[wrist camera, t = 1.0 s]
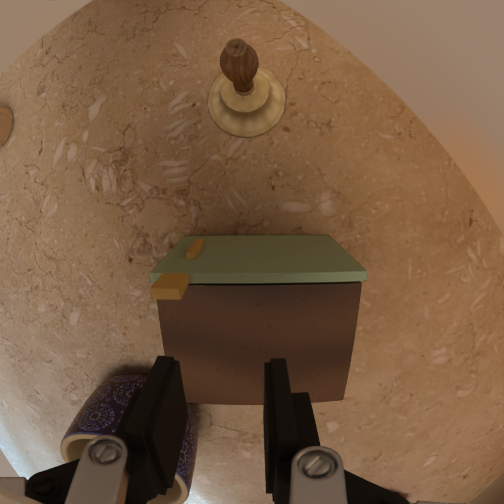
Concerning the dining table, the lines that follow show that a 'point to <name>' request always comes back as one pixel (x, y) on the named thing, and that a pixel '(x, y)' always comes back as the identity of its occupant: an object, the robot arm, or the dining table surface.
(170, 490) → the planter
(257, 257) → the sliding door
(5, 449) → the dining table surface
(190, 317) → the cupboard
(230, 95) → the hand bell
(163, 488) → the robot arm
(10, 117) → the beer glass
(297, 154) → the dining table surface
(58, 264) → the dining table surface
